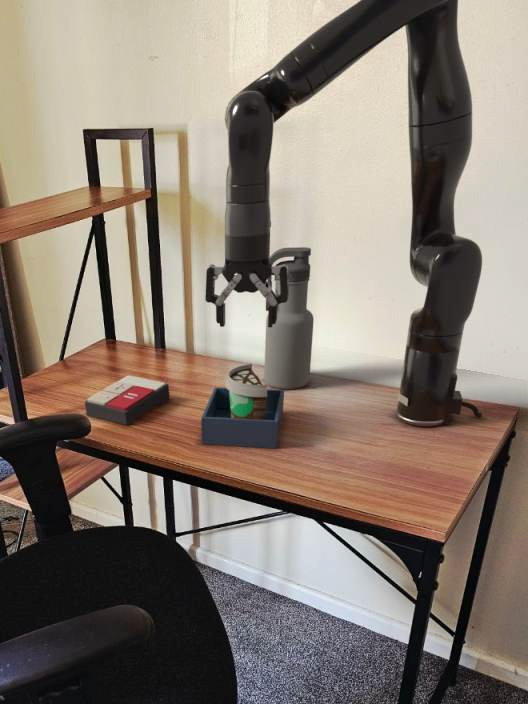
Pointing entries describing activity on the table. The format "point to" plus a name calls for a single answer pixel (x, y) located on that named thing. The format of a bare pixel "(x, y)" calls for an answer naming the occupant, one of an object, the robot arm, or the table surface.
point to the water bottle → (290, 325)
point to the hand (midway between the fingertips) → (246, 325)
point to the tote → (241, 422)
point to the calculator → (127, 399)
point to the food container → (246, 393)
